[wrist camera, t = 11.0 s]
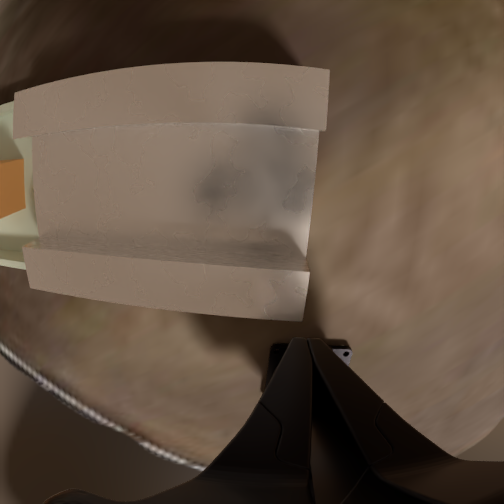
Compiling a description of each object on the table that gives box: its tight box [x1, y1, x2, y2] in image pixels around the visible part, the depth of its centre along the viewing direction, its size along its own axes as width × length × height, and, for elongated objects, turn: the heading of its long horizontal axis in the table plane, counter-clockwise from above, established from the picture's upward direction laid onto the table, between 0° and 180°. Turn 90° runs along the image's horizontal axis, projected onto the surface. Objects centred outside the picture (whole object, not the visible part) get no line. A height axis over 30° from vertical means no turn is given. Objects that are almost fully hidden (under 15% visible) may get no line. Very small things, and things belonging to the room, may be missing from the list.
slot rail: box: [13, 62, 330, 322], centre depth 17 cm, size 13×18×5 cm
